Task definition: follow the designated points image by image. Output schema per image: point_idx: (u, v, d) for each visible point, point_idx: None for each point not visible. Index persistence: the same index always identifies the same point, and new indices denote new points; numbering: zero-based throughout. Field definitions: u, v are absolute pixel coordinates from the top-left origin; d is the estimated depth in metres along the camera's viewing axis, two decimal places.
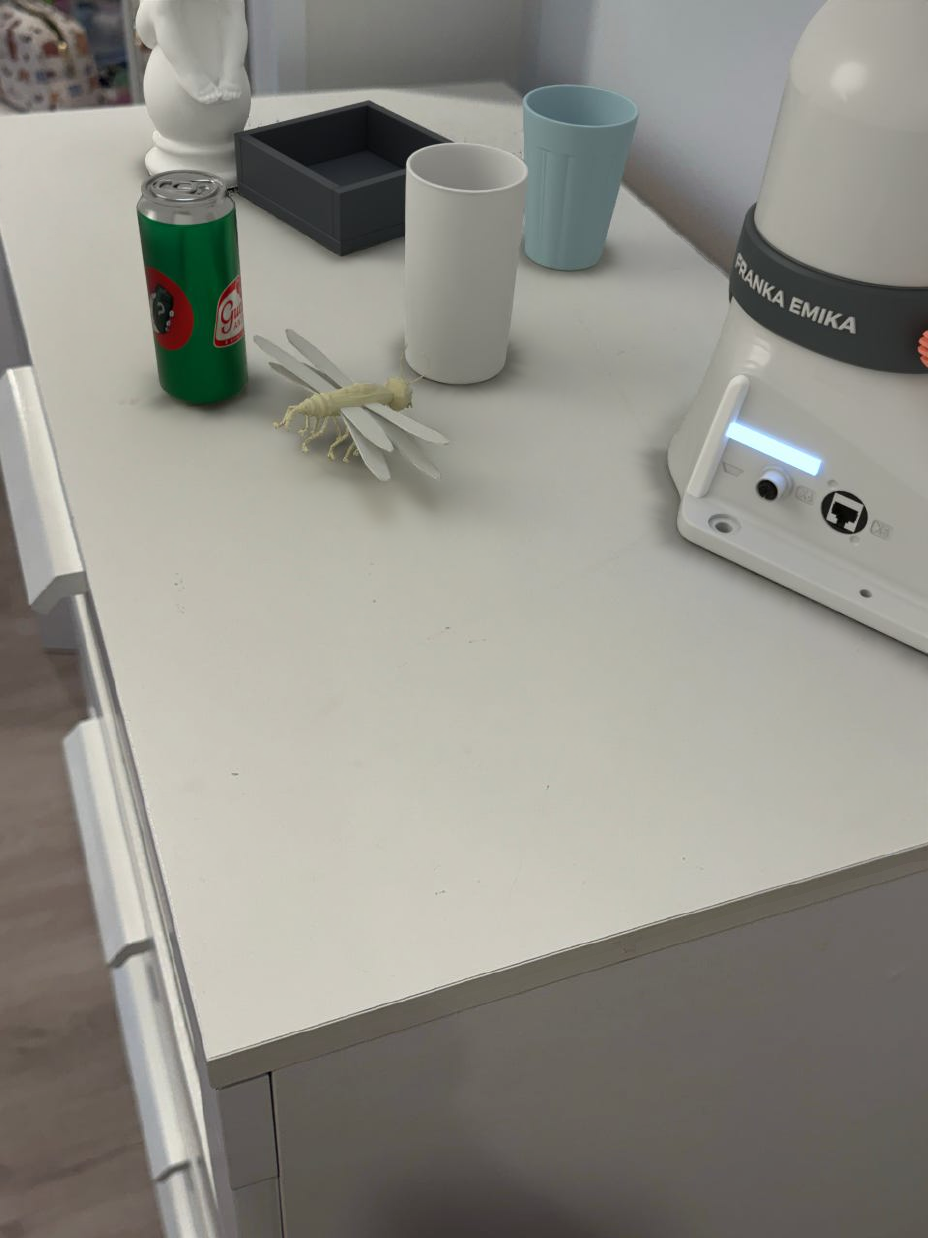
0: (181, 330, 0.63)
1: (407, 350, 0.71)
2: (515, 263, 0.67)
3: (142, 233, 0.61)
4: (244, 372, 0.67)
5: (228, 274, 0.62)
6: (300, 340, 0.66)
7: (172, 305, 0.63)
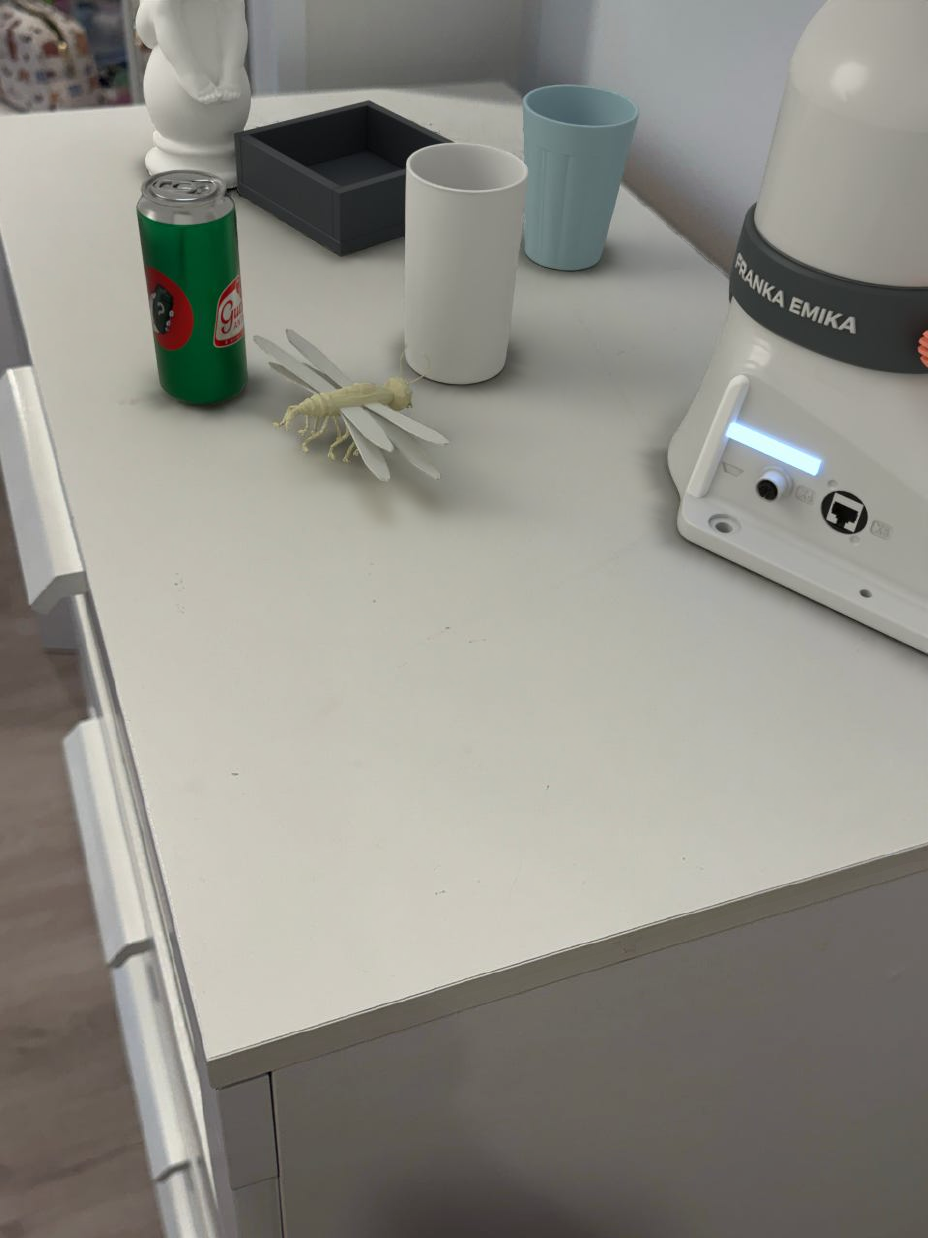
0: (181, 330, 0.63)
1: (407, 350, 0.71)
2: (515, 263, 0.67)
3: (142, 233, 0.61)
4: (244, 372, 0.67)
5: (228, 274, 0.62)
6: (300, 340, 0.66)
7: (172, 306, 0.63)
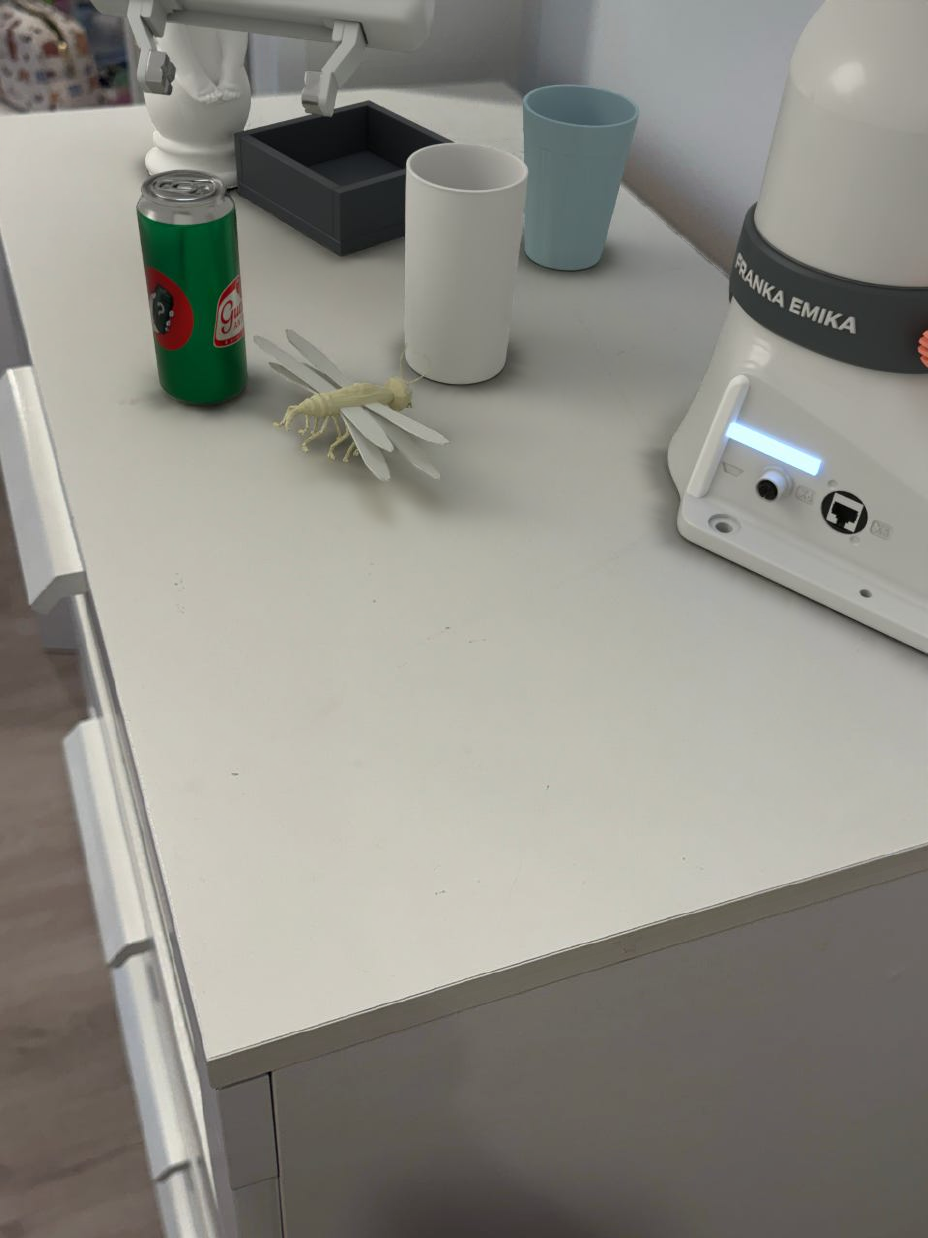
0: (181, 330, 0.63)
1: (407, 350, 0.71)
2: (515, 263, 0.67)
3: (142, 233, 0.61)
4: (244, 372, 0.67)
5: (228, 274, 0.62)
6: (300, 340, 0.66)
7: (172, 306, 0.63)
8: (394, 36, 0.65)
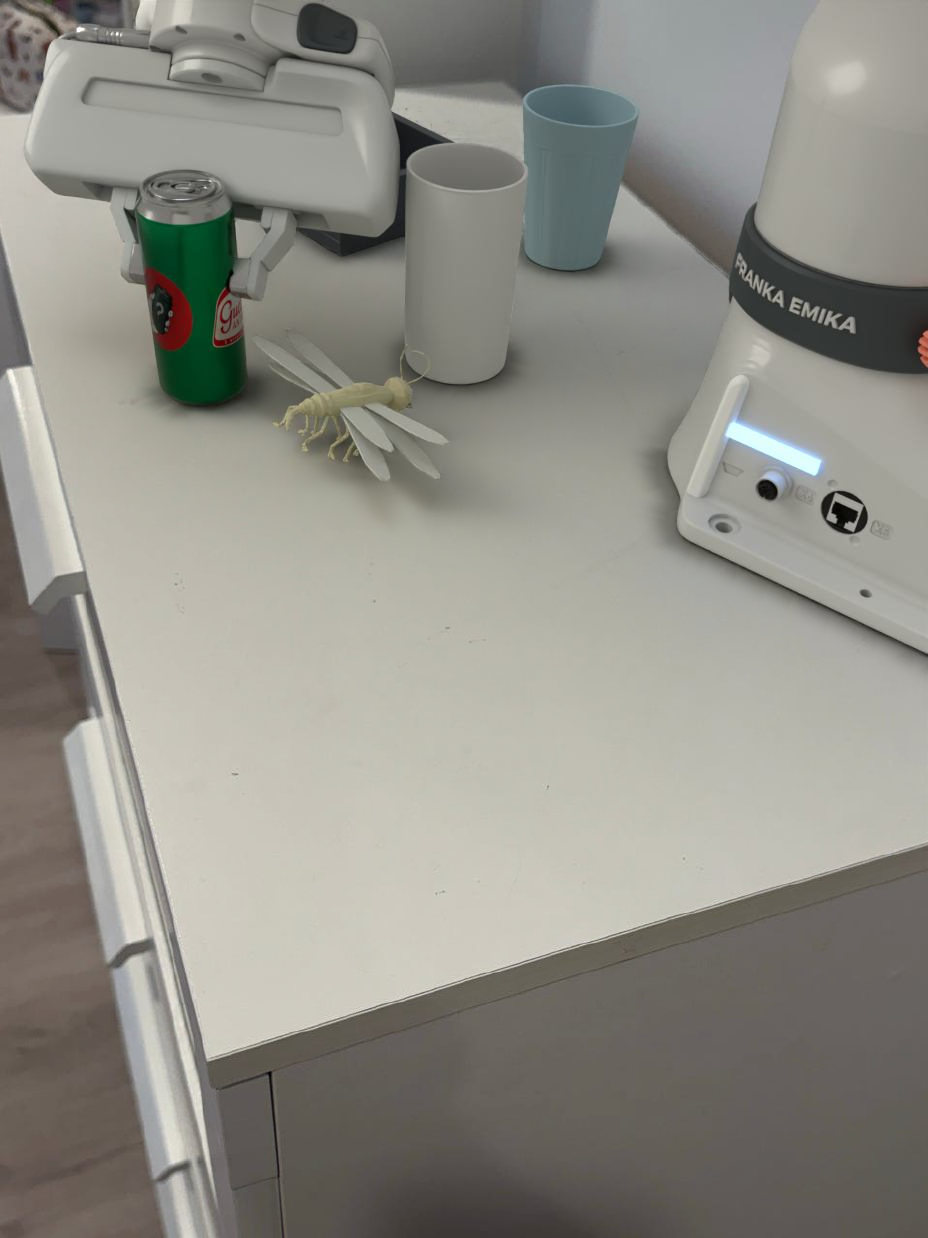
0: (180, 330, 0.63)
1: (407, 350, 0.71)
2: (515, 263, 0.67)
3: (140, 233, 0.61)
4: (244, 372, 0.67)
5: (226, 274, 0.62)
6: (300, 340, 0.66)
7: (171, 306, 0.62)
8: (357, 225, 0.63)
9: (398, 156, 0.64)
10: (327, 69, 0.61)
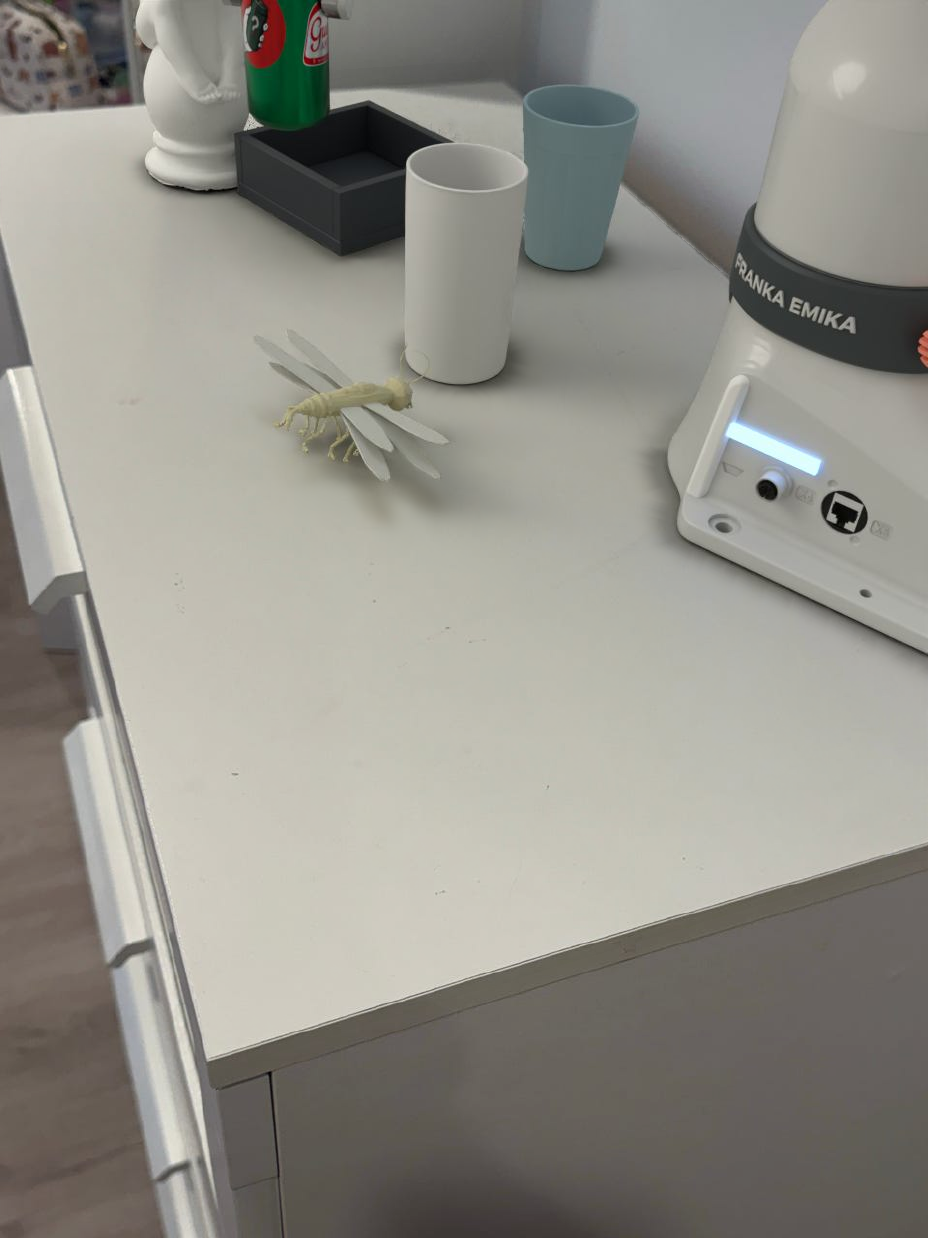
0: (274, 44, 0.68)
1: (407, 350, 0.71)
2: (515, 263, 0.67)
3: None
4: (328, 99, 0.72)
5: None
6: (300, 340, 0.66)
7: (266, 18, 0.67)
8: None
9: None
10: None
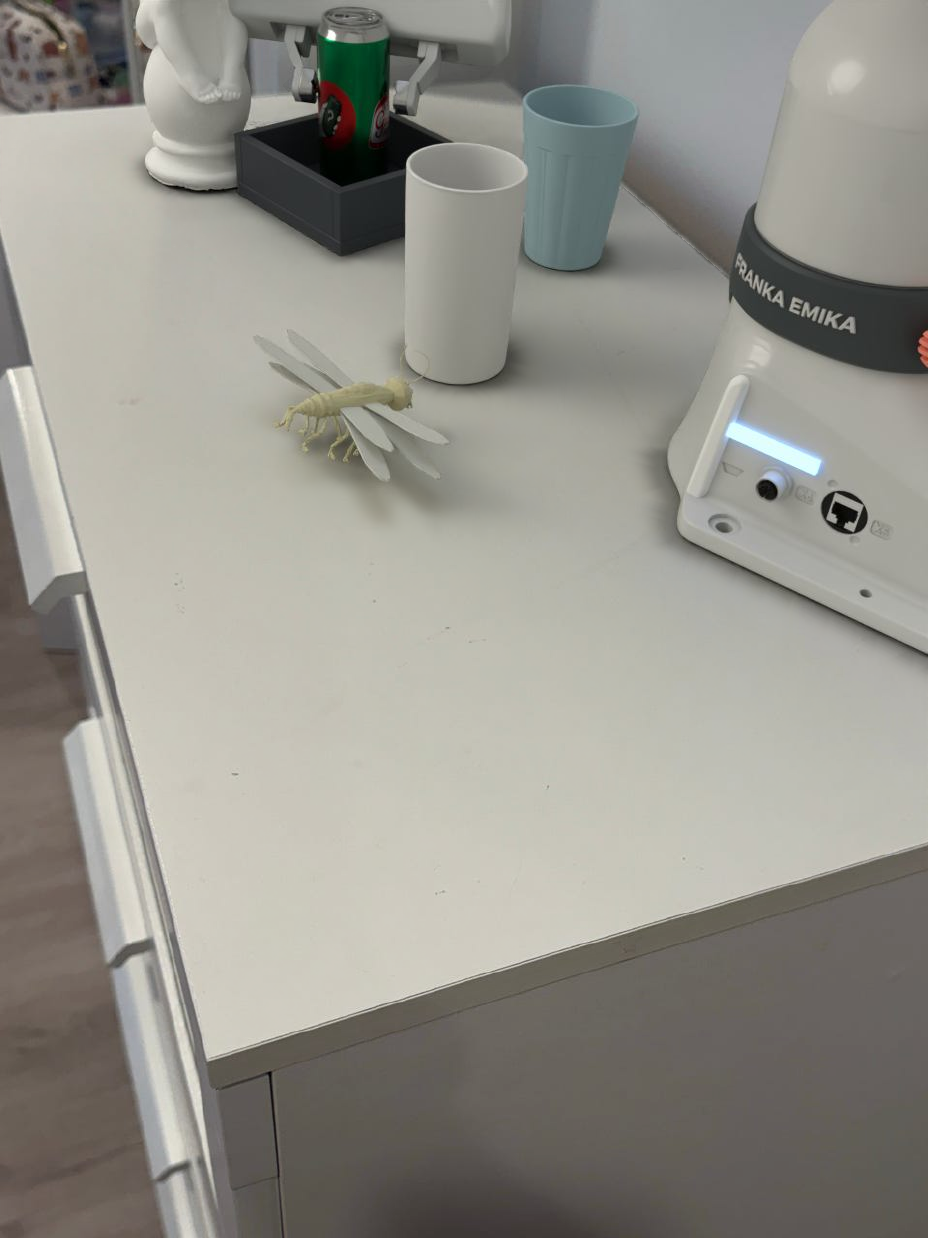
0: (345, 132, 0.83)
1: (407, 350, 0.71)
2: (515, 263, 0.67)
3: (321, 52, 0.80)
4: None
5: (383, 87, 0.82)
6: (300, 340, 0.66)
7: (340, 112, 0.82)
8: (481, 55, 0.82)
9: (511, 4, 0.84)
10: None
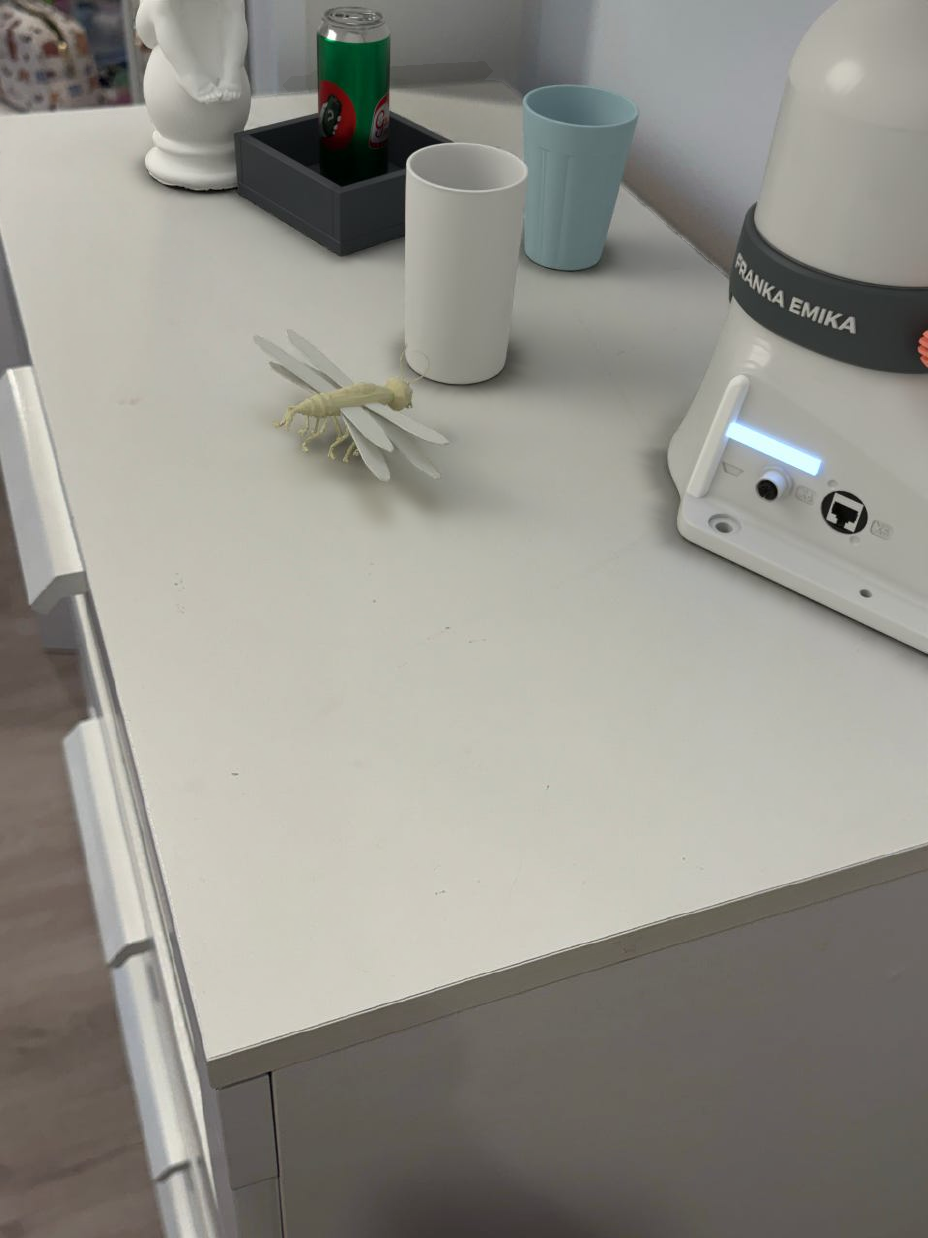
0: (345, 132, 0.83)
1: (407, 350, 0.71)
2: (515, 263, 0.67)
3: (321, 52, 0.80)
4: None
5: (383, 87, 0.82)
6: (300, 340, 0.66)
7: (340, 112, 0.82)
8: None
9: None
10: None
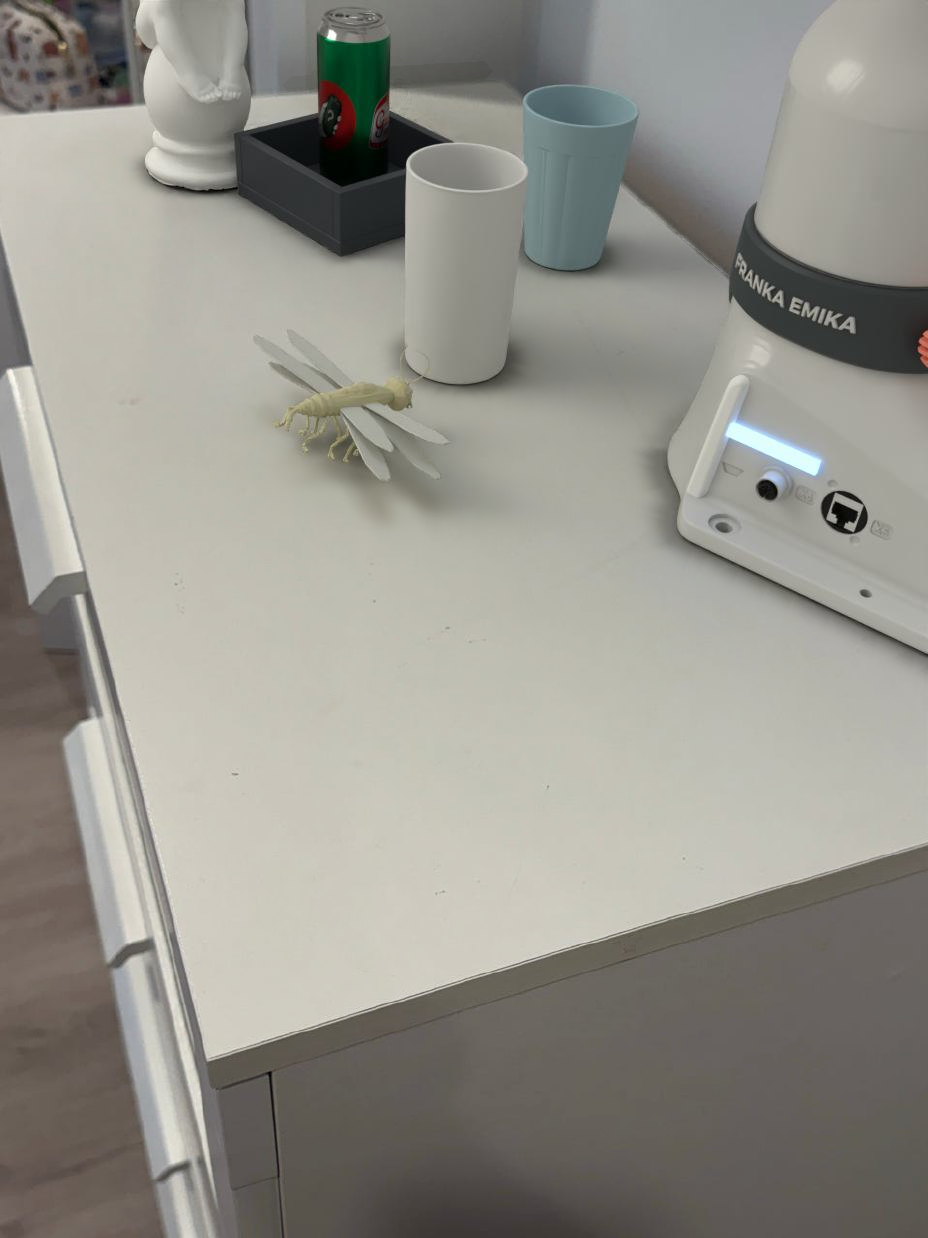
0: (345, 132, 0.83)
1: (407, 350, 0.71)
2: (515, 263, 0.67)
3: (321, 52, 0.80)
4: None
5: (383, 87, 0.82)
6: (300, 340, 0.66)
7: (340, 112, 0.82)
8: None
9: None
10: None
